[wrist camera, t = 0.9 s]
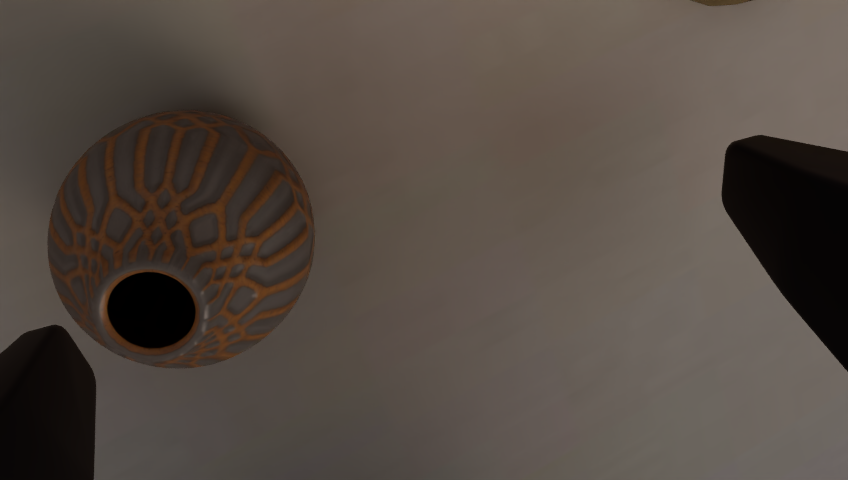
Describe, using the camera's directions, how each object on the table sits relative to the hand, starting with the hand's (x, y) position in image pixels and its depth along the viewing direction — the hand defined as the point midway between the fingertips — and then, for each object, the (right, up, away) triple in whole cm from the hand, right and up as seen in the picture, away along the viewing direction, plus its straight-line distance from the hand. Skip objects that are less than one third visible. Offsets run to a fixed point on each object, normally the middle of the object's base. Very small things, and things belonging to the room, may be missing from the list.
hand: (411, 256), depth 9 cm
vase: (-7, +2, +14) cm, 16 cm away
